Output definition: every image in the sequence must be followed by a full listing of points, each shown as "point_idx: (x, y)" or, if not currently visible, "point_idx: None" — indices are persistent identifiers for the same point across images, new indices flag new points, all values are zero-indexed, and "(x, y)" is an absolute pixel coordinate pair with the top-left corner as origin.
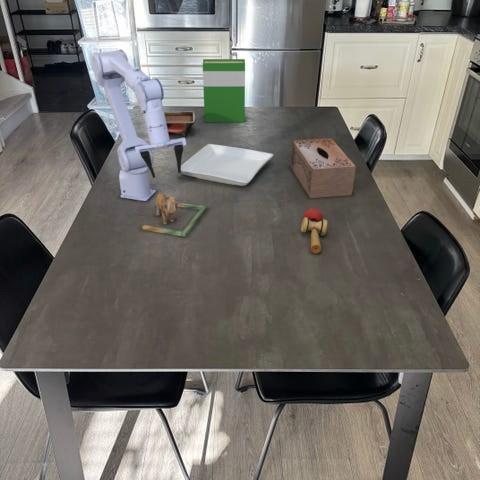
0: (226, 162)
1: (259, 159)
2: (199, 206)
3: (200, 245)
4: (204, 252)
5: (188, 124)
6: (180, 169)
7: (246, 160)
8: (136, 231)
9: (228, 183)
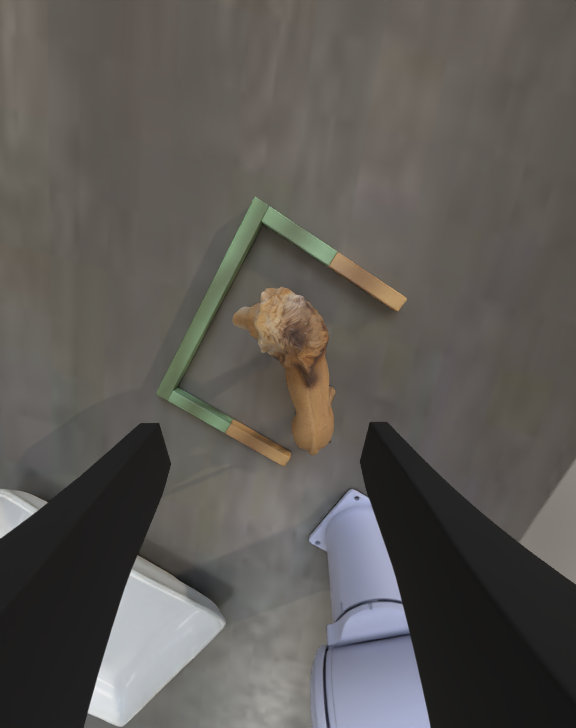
0: None
1: None
2: (179, 400)
3: (204, 108)
4: (193, 34)
5: None
6: (122, 440)
7: None
8: (427, 291)
9: None
